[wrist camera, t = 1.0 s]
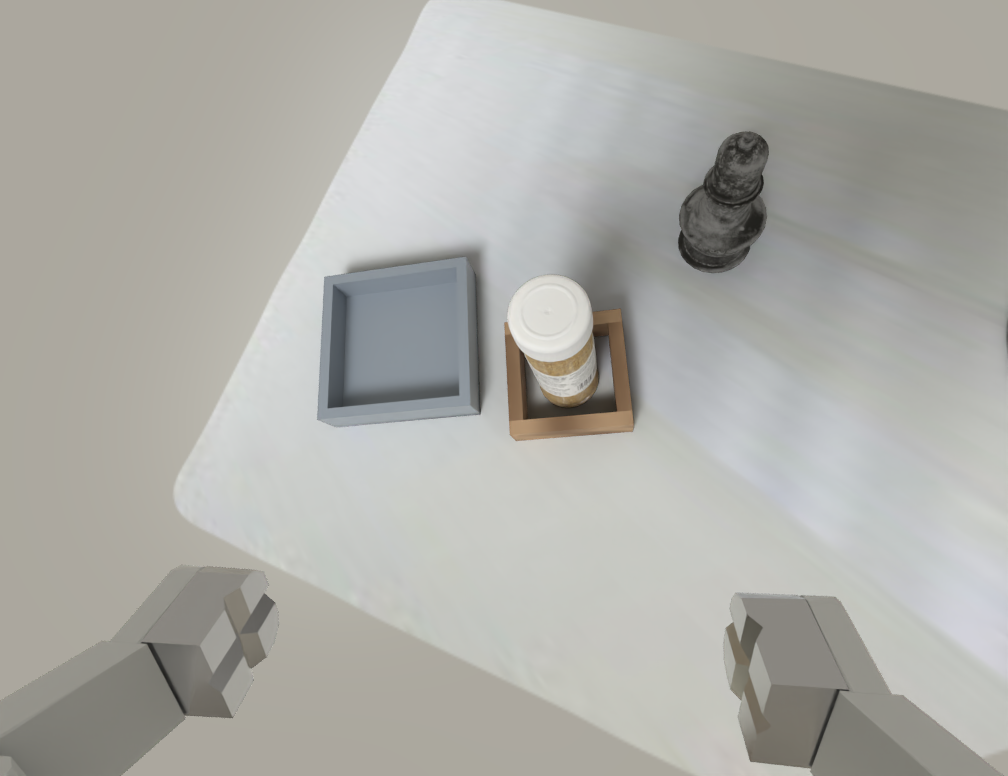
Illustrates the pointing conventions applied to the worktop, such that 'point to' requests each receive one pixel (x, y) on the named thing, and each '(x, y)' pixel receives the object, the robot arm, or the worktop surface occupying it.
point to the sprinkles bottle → (556, 337)
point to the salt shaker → (726, 207)
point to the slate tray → (399, 344)
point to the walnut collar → (576, 424)
